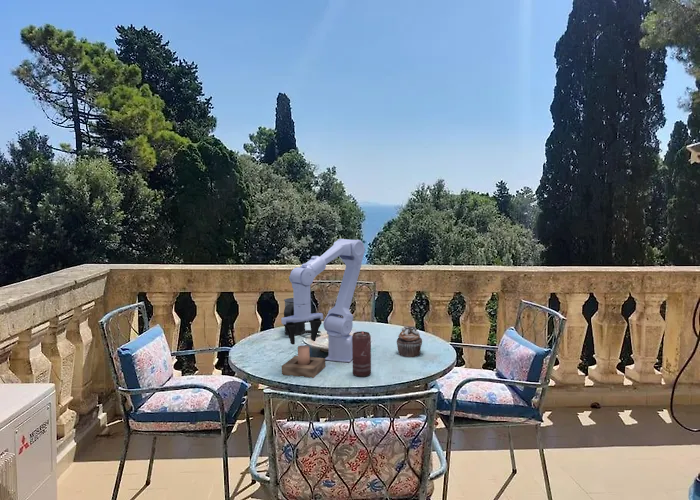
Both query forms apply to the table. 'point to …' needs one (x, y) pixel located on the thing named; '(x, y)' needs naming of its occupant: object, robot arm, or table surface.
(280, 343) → the table surface
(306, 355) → the peg
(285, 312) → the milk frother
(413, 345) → the cupcake
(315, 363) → the socket block
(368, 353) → the can
